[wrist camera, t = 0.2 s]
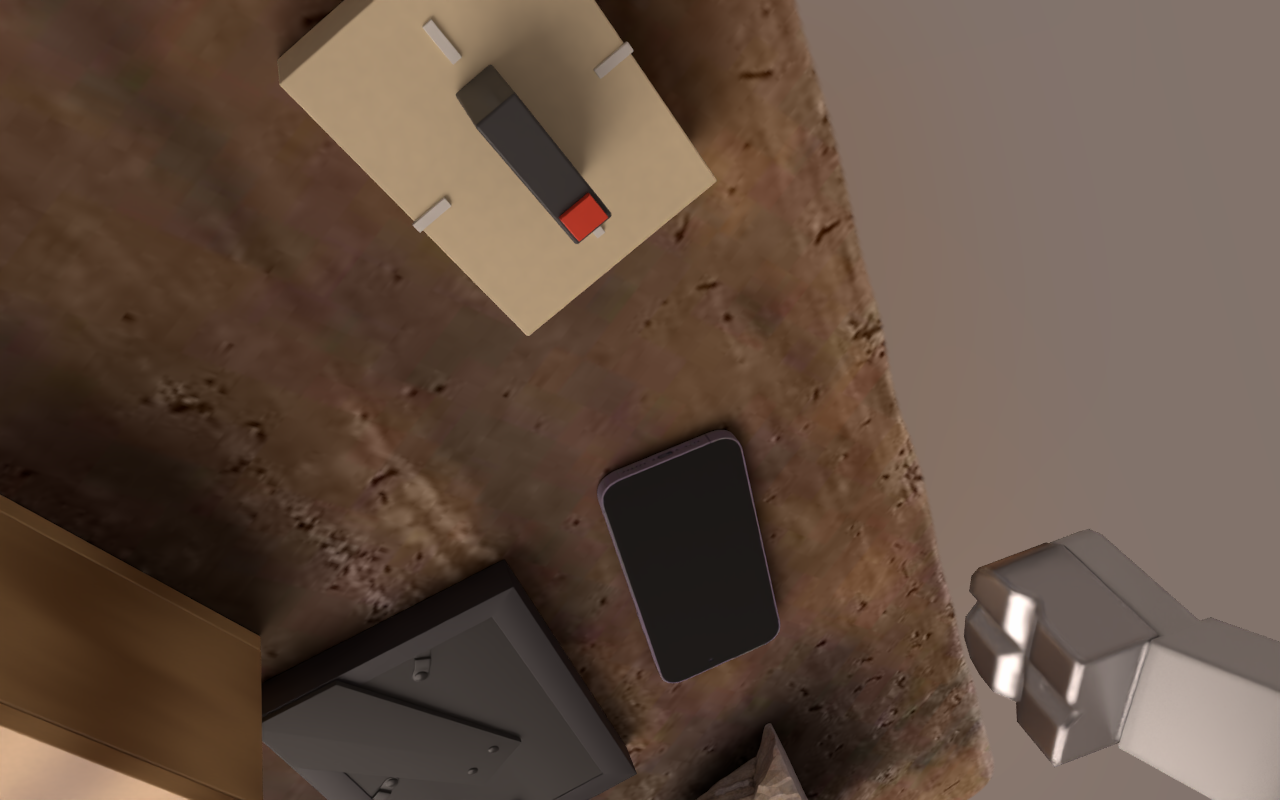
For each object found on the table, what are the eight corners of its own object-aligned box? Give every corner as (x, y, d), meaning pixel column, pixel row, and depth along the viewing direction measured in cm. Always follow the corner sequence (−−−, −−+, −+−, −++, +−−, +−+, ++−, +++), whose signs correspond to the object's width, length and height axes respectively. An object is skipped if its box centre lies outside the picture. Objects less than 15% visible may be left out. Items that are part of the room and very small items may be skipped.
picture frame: (243, 692, 44) (421, 857, 55) (243, 731, 42) (427, 893, 53) (504, 558, 45) (627, 746, 55) (514, 590, 43) (639, 778, 54)
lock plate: (274, 62, 30) (276, 87, 28) (493, -133, 29) (515, -125, 27) (508, 303, 38) (527, 341, 35) (690, 152, 37) (721, 180, 34)
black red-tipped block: (453, 93, 30) (476, 129, 27) (490, 62, 30) (517, 94, 27) (549, 206, 33) (579, 249, 30) (582, 178, 33) (616, 218, 30)
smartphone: (739, 429, 44) (784, 636, 53) (730, 417, 45) (775, 622, 54) (594, 489, 43) (664, 689, 52) (587, 475, 44) (657, 675, 53)
